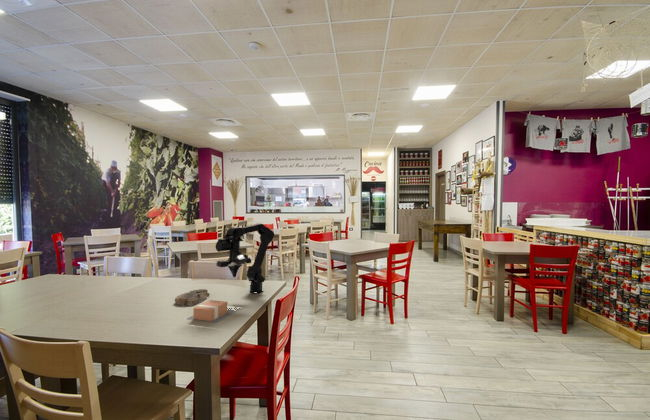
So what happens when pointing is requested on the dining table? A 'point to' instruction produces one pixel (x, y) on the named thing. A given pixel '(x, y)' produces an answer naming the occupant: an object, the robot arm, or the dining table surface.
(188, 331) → the dining table surface
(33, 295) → the dining table surface
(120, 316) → the dining table surface
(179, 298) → the weathered wood piece
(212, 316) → the tall box
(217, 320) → the mat
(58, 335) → the dining table surface
